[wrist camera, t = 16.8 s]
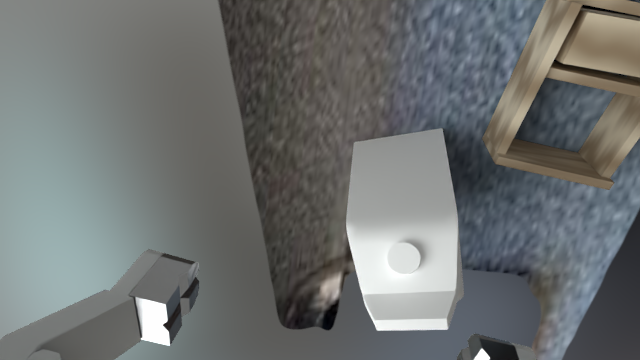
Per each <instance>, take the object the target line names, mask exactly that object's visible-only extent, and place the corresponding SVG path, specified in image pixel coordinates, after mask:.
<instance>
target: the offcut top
mask: <svg viewBox="0 0 640 360" xmlns="http://www.w3.org/2000/svg"><path fill="white" fill-rule="evenodd" d="M555 59H556V60H557V61H559V62H561V63H563V64H568V65H574V66H579V67H585V68H590V69H596V70H601V71H607V72H612V73H618V74H623V75H629V76H634V77H640V20H634V19H628V18H622V17H617V16H611V15H605V14H599V13H593V12H587V11H582V10H580V11H579V13H578V15H577V17H576V19H575V20H574V22H573V24H572V26H571V28H570V30H569V32H568V34H567V36H566V38H565V40H564V42H563V44H562V46H561V48H560V50H559V52H558V54H557V56H556V58H555Z"/></svg>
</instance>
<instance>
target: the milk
mask: <svg viewBox="0 0 640 360" xmlns="http://www.w3.org/2000/svg"><path fill="white" fill-rule="evenodd" d="M346 227H347V234H348V239H349V243H350V248H351V252H352V256H353V260H354V264H355V268H356V272H357V276H358V280H359V284H360V288H361V292H362V294H363V299H364V303H365V305H366V308H367V310H368V312H369V314H370V316H371V318H372V320H373V322H374V324H375V327H376V329H377V330H447V329H448V328H449V325H450V322H451V319H452V316H453V313H454V310H455V307H456V304H457V303H456V302H457V301H459V300H460V299H461V298H462V297H463V296H464V290H463V277H462V265H461V253H460V241H459V228H458V216H457V207H456V202H455V196H454V191H453V185H452V179H451V174H450V168H449V163H448V157H447V151H446V146H445V140H444V135H443V129H442V128H441V129H434V130H428V131H422V132H416V133H409V134H403V135H397V136H391V137H384V138H378V139H372V140H366V141H359V142H354V147H353V157H352V167H351V177H350V187H349V197H348V207H347V217H346Z"/></svg>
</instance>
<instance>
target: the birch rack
mask: <svg viewBox="0 0 640 360" xmlns="http://www.w3.org/2000/svg"><path fill="white" fill-rule="evenodd" d="M582 5H588V6H593V7H598V8H603V9H608V10H613V11H618V12H623V13H627V14H632V15H637V16H640V3H638V2H633V1H628V0H546V2H545V4H544V6H543V8H542V11H541V13H540V15H539V17H538V19H537V21H536V24H535V26H534V28H533V30H532V32H531V34H530V37H529V39H528V41H527V43H526V45H525V47H524V49H523V52H522V54H521V56H520V58H519V60H518V62H517V65H516V67H515V69H514V71H513V73H512V75H511V78H510V80H509V82H508V84H507V86H506V88H505V90H504V93H503V95H502V97H501V99H500V101H499V103H498V106H497V108H496V110H495V112H494V114H493V116H492V119H491V121H490V123H489V125H488V127H487V129H486V132H485V134H484V136H483V138H482V140H483V142H484V143H485V145H486V147H487V149H488V151H489V153H490V155H491V157H492V159H493V161H494V163H495V164H498V165H502V166H506V167H511V168H515V169H519V170H524V171H528V172H533V173H537V174H541V175H546V176H550V177H554V178H559V179H563V180H568V181H572V182H576V183H581V184H585V185H589V186H594V187H598V188H603V189H607V190H609V189H610V188H611V187H612V185H613V184H614V182H613V181H612V180H611V179H610V177H611V176H612V175H613V173H614V172H615V171H616V169H617V168H618V166H619V165H620V164H621V162H622V161H623V160H624V158H625V157H626V155H627V154H628V153H629V151H630V150H631V149H632V147H633V146H634V144H635V143H636V142H637V140H638V139H639V138H640V77H634V76H629V75H628V76H627V77H626V76H621V75H617V74H612V73H607V72H602V71H598V70H593V69H588V68H583V67H579V66H574V65H568V64H563V63H560V62H555V61H554V59H555V57H556V55H557V53H558V51H559V50H560V48H561V46H562V44H563V42H564V40H565V38H566V36H567V34H568V32H569V30H570V28H571V26H572V24H573V22H574V20H575V19H576V17H577V15H578V13H579V11H580V9H581V7H582ZM545 77H547V78H551V79H556V80H561V81H565V82H570V83H575V84H579V85H584V86H589V87H594V88H598V89H603V90H608V91H612V92H617V93H616V94H615V96H614V97H613V99H612V100H611V102H610V104H609V105H608V107H607V108H606V110H605V111H604V113H603V114H602V116H601V118H600V119H599V121H598V122H597V124H596V125H595V127H594V129H593V130H592V132H591V133H590V135H589V136H588V138H587V139H586V141H585V143H584V144H583V146H582V147H581V149H580V150H579V152H578V153H577V152H572V151H568V150H563V149H559V148H554V147H550V146H545V145H541V144H536V143H532V142H527V141H523V140H518V139H514V137H515V135H516V133H517V131H518V129H519V127H520V125H521V123H522V121H523V119H524V117H525V115H526V113H527V111H528V110H529V108H530V106H531V104H532V102H533V100H534V98H535V96H536V94H537V92H538V90H539V88H540V86H541V84H542V82H543V80H544V79H545Z"/></svg>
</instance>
